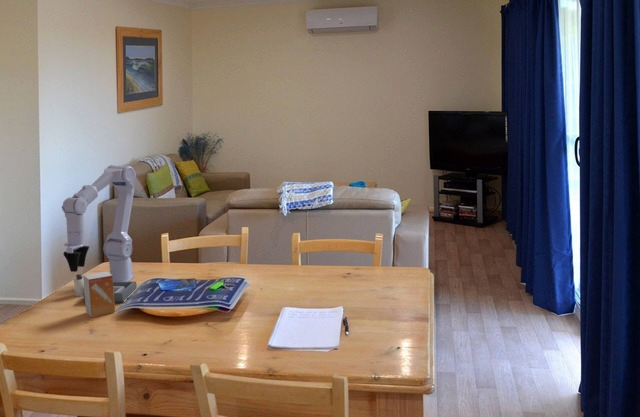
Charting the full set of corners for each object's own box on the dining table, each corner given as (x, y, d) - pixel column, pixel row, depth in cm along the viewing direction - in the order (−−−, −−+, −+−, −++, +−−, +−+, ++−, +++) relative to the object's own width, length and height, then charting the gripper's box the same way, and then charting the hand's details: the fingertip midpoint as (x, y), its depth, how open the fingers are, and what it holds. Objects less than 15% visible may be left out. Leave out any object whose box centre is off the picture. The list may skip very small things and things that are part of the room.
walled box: (99, 290, 265) (98, 281, 264) (136, 290, 263) (136, 281, 263) (84, 302, 251) (83, 293, 250) (123, 303, 250) (122, 293, 249)
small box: (91, 317, 235) (88, 279, 233) (85, 312, 241) (82, 275, 238) (116, 312, 240) (112, 274, 237) (109, 307, 245) (106, 270, 243)
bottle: (77, 293, 262) (76, 273, 261) (88, 293, 262) (86, 273, 260) (73, 296, 258) (71, 276, 257) (84, 296, 258) (82, 276, 257)
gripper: (71, 227, 262) (73, 264, 264) (56, 235, 248) (59, 273, 250) (90, 227, 262) (92, 264, 264) (77, 235, 248) (79, 273, 250)
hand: (77, 269), depth 257 cm, fingers open, 7 cm apart
